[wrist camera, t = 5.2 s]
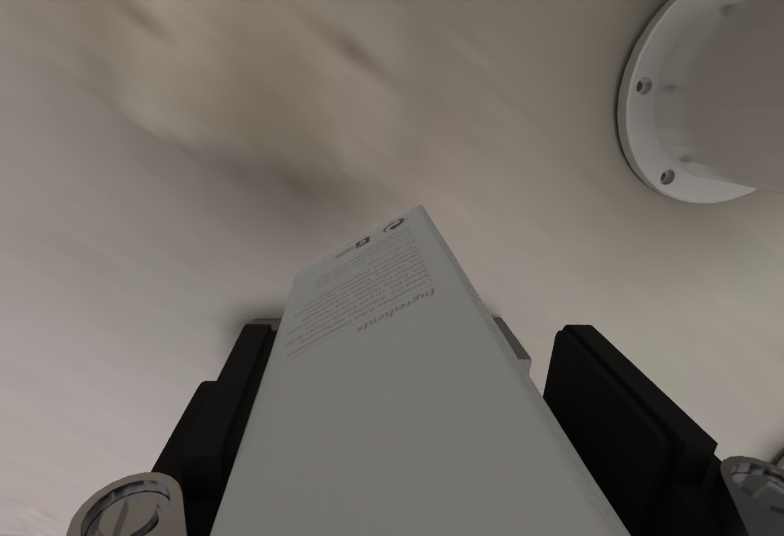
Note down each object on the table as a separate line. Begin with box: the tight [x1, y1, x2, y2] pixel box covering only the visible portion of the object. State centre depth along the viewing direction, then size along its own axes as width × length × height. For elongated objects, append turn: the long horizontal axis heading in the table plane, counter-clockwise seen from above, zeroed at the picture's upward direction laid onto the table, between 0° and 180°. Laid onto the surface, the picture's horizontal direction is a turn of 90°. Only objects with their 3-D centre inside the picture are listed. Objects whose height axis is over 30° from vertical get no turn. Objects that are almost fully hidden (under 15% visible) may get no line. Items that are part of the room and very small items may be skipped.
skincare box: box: [210, 205, 631, 536], centre depth 8 cm, size 6×4×12 cm
